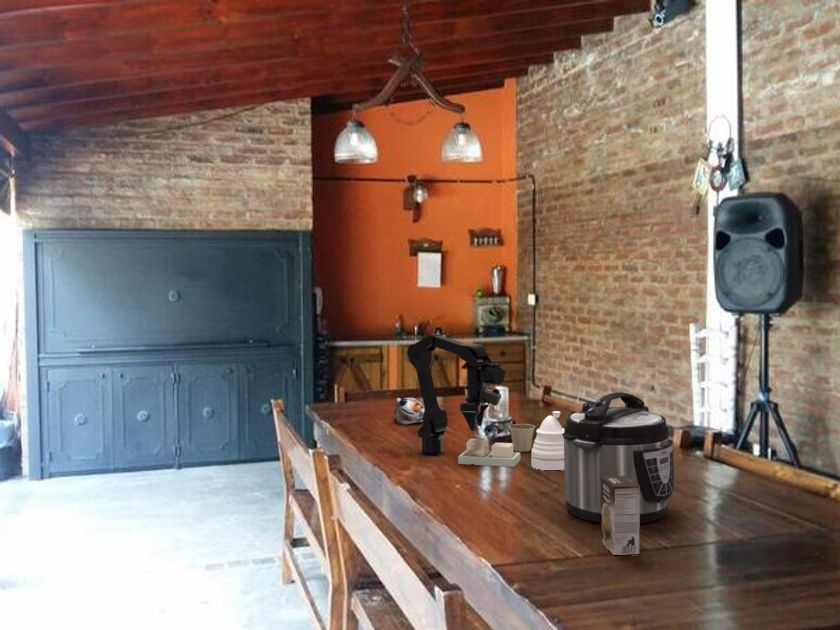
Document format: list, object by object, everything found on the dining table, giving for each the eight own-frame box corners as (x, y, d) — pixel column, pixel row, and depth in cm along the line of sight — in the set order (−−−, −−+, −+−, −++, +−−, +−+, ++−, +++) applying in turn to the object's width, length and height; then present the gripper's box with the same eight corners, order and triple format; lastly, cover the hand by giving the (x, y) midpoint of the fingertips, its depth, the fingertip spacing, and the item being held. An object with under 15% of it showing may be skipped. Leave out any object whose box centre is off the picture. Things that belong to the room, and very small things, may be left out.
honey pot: (575, 463, 276) (574, 409, 275) (565, 472, 264) (564, 416, 263) (538, 460, 281) (537, 407, 280) (526, 469, 269) (525, 413, 268)
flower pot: (534, 453, 291) (534, 429, 291) (507, 453, 293) (507, 428, 293) (536, 447, 301) (536, 424, 300) (510, 447, 302) (509, 423, 302)
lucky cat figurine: (431, 420, 359) (434, 394, 352) (419, 435, 350) (422, 409, 343) (400, 409, 364) (402, 383, 357) (387, 424, 355) (389, 398, 347)
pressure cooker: (586, 534, 203) (585, 405, 201) (543, 503, 230) (542, 389, 228) (697, 523, 209) (697, 398, 208) (643, 494, 237) (642, 383, 235)
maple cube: (466, 459, 280) (466, 442, 279) (471, 455, 285) (471, 438, 285) (484, 460, 278) (483, 442, 277) (488, 456, 283) (488, 439, 283)
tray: (458, 463, 279) (457, 446, 278) (466, 457, 288) (466, 440, 288) (514, 466, 272) (513, 448, 272) (520, 460, 282) (520, 442, 282)
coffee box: (600, 543, 196) (599, 475, 195) (627, 542, 196) (626, 474, 195) (612, 556, 187) (612, 485, 186) (640, 555, 187) (640, 484, 186)
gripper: (492, 386, 269) (493, 434, 270) (505, 379, 286) (506, 424, 287) (458, 386, 272) (460, 433, 273) (473, 378, 290) (474, 423, 291)
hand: (476, 428), depth 281 cm, fingers open, 9 cm apart
